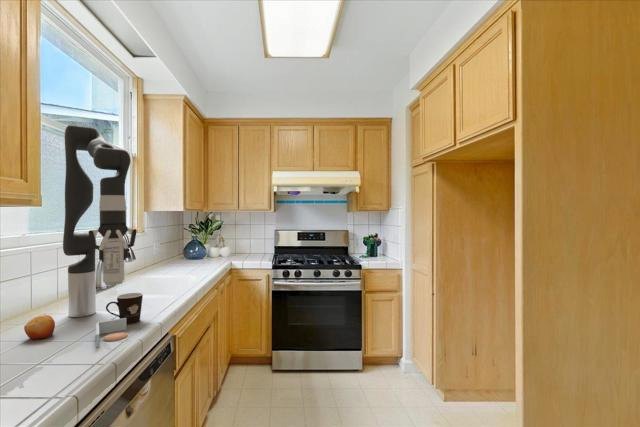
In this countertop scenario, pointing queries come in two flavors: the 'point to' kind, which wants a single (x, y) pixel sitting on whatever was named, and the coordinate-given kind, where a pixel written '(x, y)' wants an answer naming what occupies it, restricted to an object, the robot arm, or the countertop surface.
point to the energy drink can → (113, 262)
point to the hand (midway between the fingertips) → (113, 260)
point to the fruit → (40, 327)
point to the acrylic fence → (109, 327)
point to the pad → (115, 336)
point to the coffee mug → (128, 307)
